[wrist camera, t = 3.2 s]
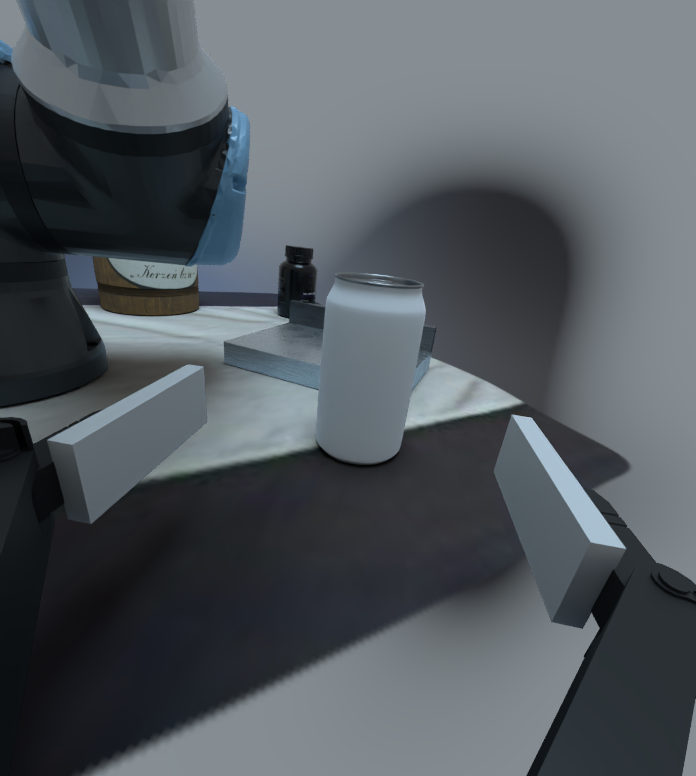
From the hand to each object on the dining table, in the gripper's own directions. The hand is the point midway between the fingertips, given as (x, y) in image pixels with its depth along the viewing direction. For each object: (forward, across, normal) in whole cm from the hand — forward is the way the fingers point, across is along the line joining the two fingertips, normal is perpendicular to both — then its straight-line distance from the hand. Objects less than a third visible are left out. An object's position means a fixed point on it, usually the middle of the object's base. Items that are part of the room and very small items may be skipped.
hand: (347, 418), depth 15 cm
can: (+10, 0, -7) cm, 12 cm away
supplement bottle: (+50, -17, -7) cm, 54 cm away
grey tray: (+26, -5, -7) cm, 27 cm away
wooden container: (+42, -40, -7) cm, 59 cm away
